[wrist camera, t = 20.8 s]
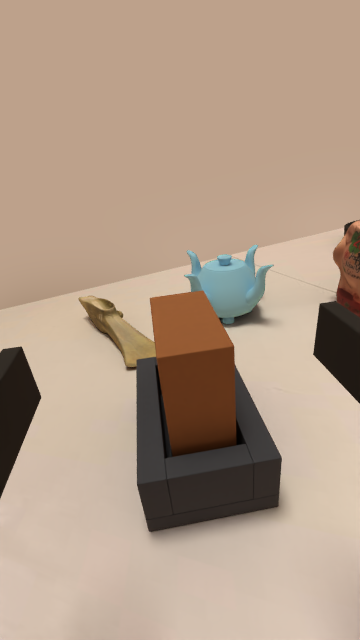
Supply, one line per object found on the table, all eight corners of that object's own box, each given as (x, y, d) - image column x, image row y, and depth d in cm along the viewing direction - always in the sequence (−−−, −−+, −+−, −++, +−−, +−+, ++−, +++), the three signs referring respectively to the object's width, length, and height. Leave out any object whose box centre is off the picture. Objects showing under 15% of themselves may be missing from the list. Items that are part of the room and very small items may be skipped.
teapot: (257, 295, 59) (258, 243, 55) (272, 328, 47) (275, 265, 43) (190, 300, 60) (186, 249, 56) (189, 333, 49) (183, 272, 44)
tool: (171, 361, 44) (170, 334, 42) (131, 378, 41) (127, 350, 39) (111, 304, 61) (108, 282, 58) (79, 313, 58) (74, 291, 55)
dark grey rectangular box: (148, 532, 23) (136, 484, 20) (144, 397, 36) (136, 359, 34) (278, 506, 24) (282, 457, 21) (226, 384, 37) (225, 345, 34)
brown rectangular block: (176, 482, 25) (156, 358, 19) (165, 398, 33) (149, 297, 28) (237, 471, 25) (234, 345, 20) (210, 391, 34) (203, 290, 28)
